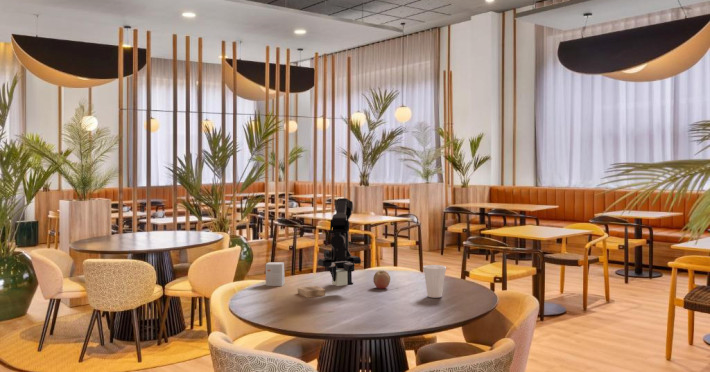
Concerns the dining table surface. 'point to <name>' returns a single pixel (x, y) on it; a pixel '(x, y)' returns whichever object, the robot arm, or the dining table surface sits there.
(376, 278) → the fruit
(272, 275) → the small box
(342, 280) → the sage cube
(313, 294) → the oak block
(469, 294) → the dining table surface
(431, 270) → the cup
